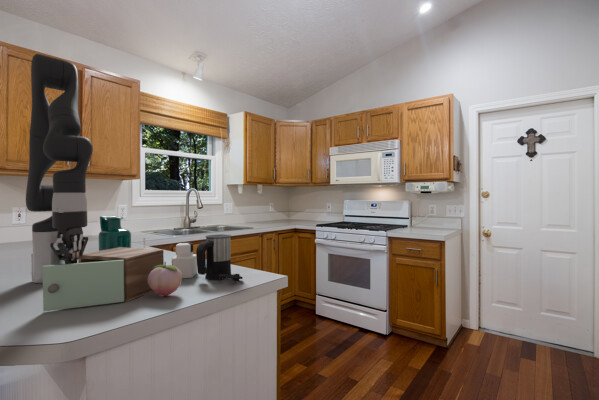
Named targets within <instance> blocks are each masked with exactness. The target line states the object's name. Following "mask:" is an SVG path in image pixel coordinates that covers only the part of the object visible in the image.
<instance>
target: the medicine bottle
mask: <svg viewBox="0 0 599 400" xmlns="http://www.w3.org/2000/svg"><path fill="white" fill-rule="evenodd" d="M171 265H173V266H175V267H177V268H178V269H179V270H180V271H181V273H182V279H192V278H194V277H195V276H196V274H198V270H197V256H196V253H194V243H192V242H189V241H185V242H183V241H182V242H179V243H177V244H176V245H175V256H173V258H171Z"/></svg>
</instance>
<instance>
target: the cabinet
mask: <svg viewBox="0 0 599 400" xmlns="http://www.w3.org/2000/svg"><path fill="white" fill-rule="evenodd" d="M164 258H165V257H164V249H160V248H158V249H157V248H150V249H144V247H141V248H140V247H131V248H125V247H118V248H113V249H107V250H102V251H99V250H97V251H96V250H95V251H92V252H87V253H83V255H82V256H79V259H78V260H77V263H87V262H100V261H114V260H124V302H129V301H132V300H134V299H137V297H138V298H140V297H143V296H145V295H148V294H150V293H152V292H154V291H153V290H152V289H151V288H150V286H149V284H148V276H149V274H150V272H151V271H152V269H153V267H155V266H157V265H165V261H164ZM142 295H143V296H142ZM139 296H140V297H139Z"/></svg>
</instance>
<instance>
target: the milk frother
mask: <svg viewBox="0 0 599 400" xmlns="http://www.w3.org/2000/svg"><path fill="white" fill-rule="evenodd" d="M231 237H232V235H231V234H223V233H222V234H209V235H205V238H206V239H205V240H204V241H202V242H200V243H199V244H198V245H197V247H196V251H195V254H196V256H197V274H198V275H203V276H204V277H205V278H206V279H207V280H214V281H215V280H225V279H230V280H232V281H234V283H235V282H236V283H237V282H240V280H244V279H243V276H241V275H240V273H233V274H232V268H231V266H232V262H231V261H232V260H231V257H232V256H231V253H232V251H231V250H232V249H231V248H232V247H231V246H232V245H231V241H232V240H231Z"/></svg>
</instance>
